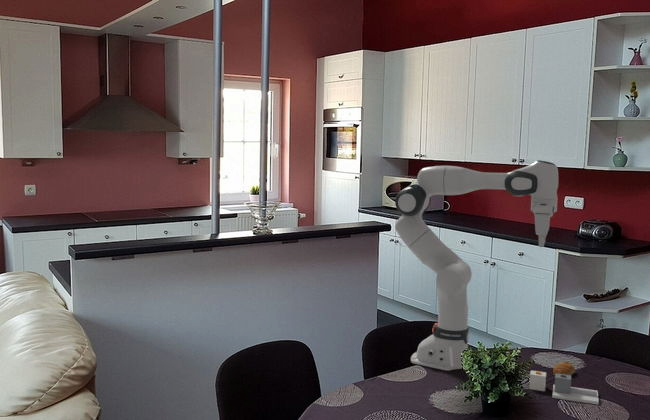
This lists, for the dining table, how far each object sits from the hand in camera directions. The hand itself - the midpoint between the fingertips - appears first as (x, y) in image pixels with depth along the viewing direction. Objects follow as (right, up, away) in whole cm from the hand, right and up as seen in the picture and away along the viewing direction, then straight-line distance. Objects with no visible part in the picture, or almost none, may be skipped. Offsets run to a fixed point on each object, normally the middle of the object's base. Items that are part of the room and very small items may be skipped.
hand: (542, 245), depth 221 cm
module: (-4, -49, -8) cm, 50 cm away
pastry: (+10, -48, +7) cm, 50 cm away
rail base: (+6, -50, -14) cm, 52 cm away
